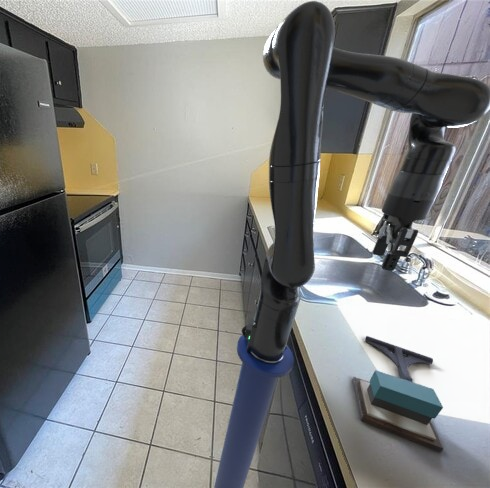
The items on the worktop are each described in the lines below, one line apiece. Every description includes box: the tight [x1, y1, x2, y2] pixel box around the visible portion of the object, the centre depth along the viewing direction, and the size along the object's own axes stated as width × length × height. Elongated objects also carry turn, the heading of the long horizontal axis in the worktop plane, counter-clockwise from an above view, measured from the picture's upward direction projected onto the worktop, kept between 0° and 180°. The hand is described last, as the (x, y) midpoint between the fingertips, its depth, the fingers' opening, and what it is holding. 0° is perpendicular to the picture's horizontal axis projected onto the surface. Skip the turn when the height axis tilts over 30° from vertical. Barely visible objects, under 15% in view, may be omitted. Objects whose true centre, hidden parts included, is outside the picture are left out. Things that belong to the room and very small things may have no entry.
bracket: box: [364, 335, 434, 383], centre depth 67 cm, size 14×15×3 cm
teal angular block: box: [367, 369, 444, 425], centre depth 55 cm, size 10×4×6 cm, turn 65°
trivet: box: [351, 376, 445, 453], centre depth 56 cm, size 13×11×2 cm
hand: (381, 261), depth 61 cm, fingers open, 8 cm apart
